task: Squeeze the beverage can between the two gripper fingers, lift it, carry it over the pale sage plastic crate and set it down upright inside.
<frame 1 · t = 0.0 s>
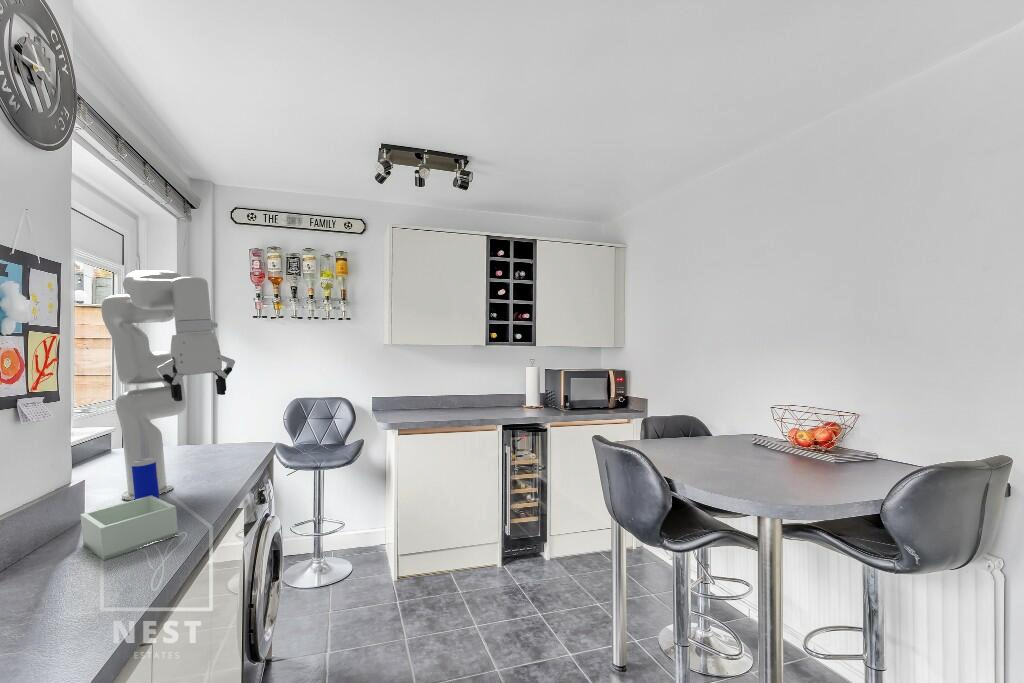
hand: (200, 397, 124), 31 cm above the table, tool pointing down, fingers open, 9 cm apart
crate: (131, 539, 118), on the table
beverage can: (149, 516, 133), on the table
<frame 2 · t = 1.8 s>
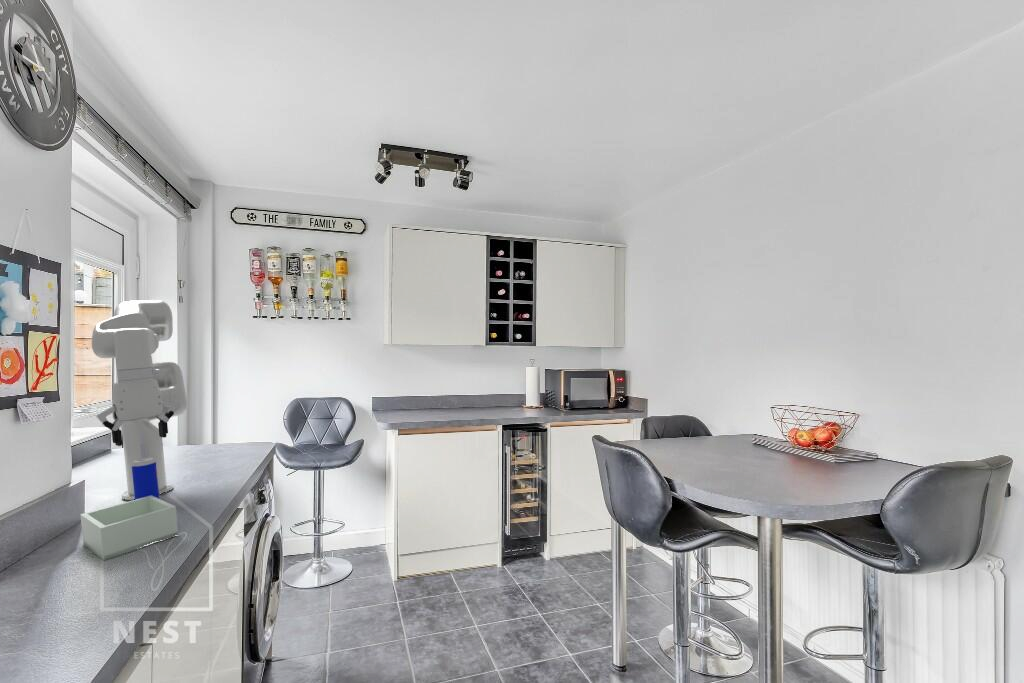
hand: (141, 441, 132), 20 cm above the table, tool pointing down, fingers open, 9 cm apart
nothing on the table moved.
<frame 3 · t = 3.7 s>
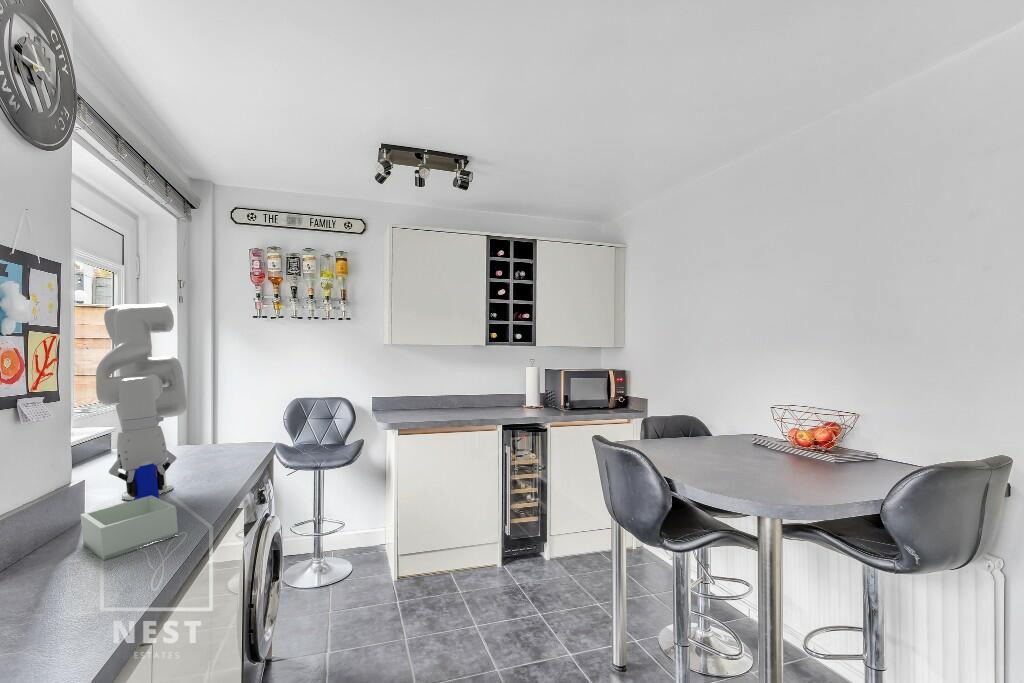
hand: (146, 491, 133), 6 cm above the table, tool pointing down, fingers closed on beverage can, 5 cm apart
beverage can: (148, 516, 133), on the table, touching gripper
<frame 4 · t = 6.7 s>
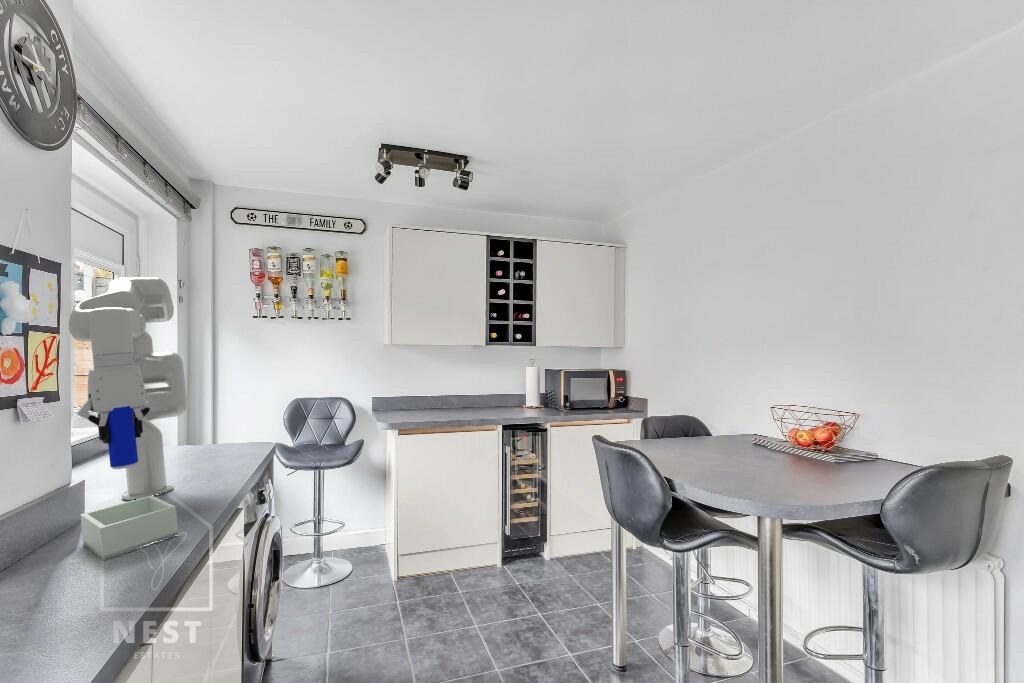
hand: (121, 439, 117), 24 cm above the table, tool pointing down, fingers closed on beverage can, 5 cm apart
beverage can: (124, 467, 117), point 17 cm above the table, touching gripper
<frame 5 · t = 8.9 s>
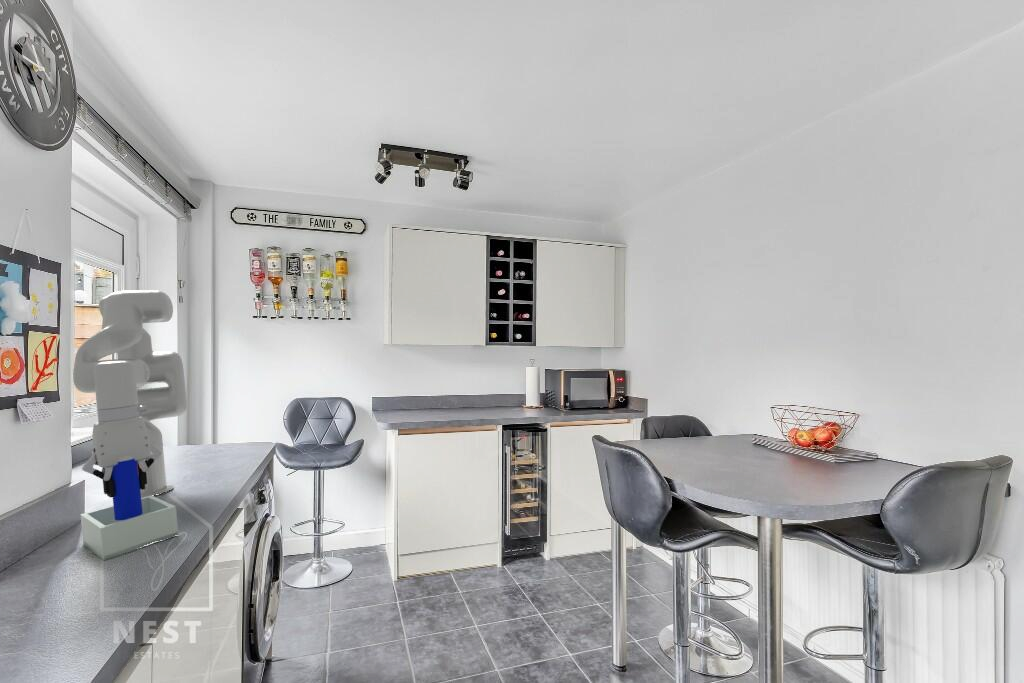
hand: (126, 491, 117), 11 cm above the table, tool pointing down, fingers closed on beverage can, 5 cm apart
beverage can: (129, 519, 117), point 5 cm above the table, touching gripper
when the fingers open (9 cm above the table, at t = 9.9 s): beverage can drops 1 cm, resting on crate.
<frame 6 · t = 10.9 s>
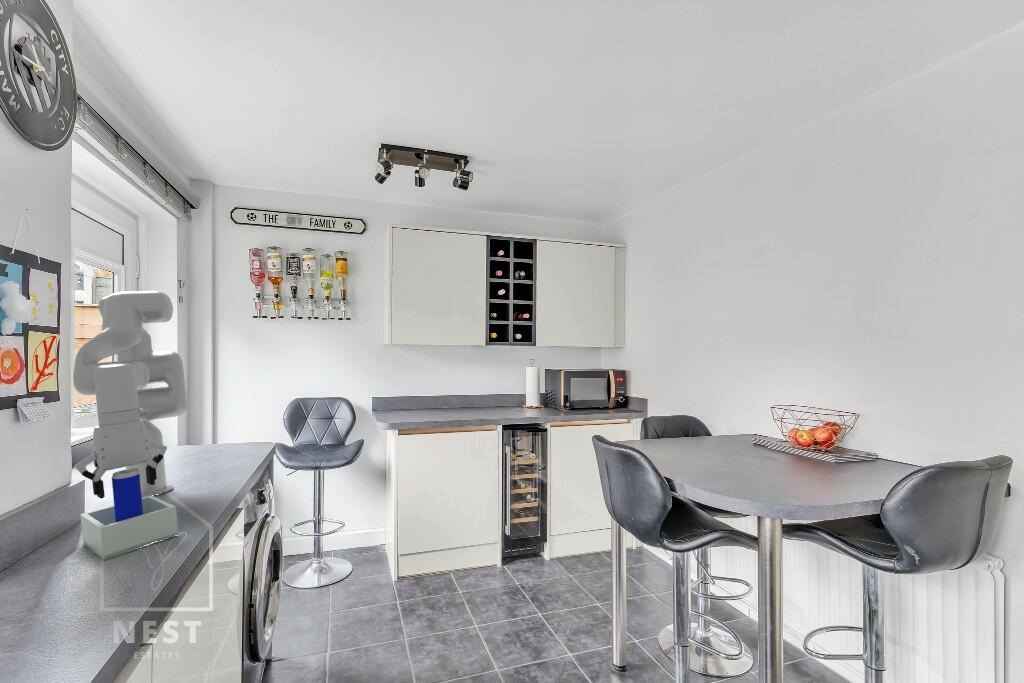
hand: (126, 490, 118), 12 cm above the table, tool pointing down, fingers open, 9 cm apart
beverage can: (131, 536, 118), point 1 cm above the table, touching crate
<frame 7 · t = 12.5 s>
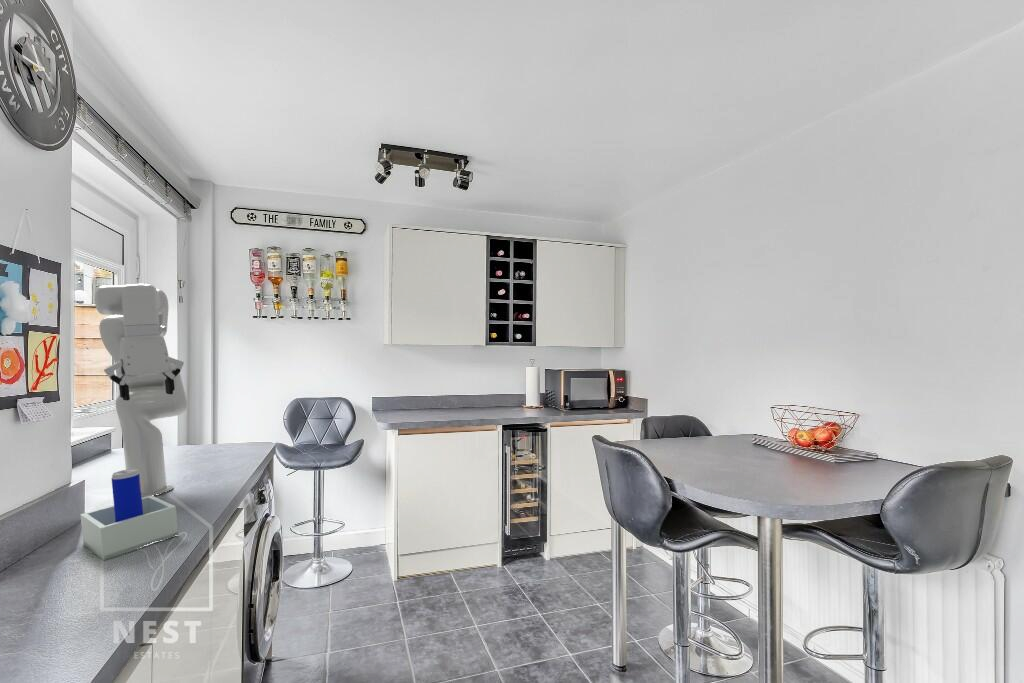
hand: (148, 396, 133), 31 cm above the table, tool pointing down, fingers open, 9 cm apart
nothing on the table moved.
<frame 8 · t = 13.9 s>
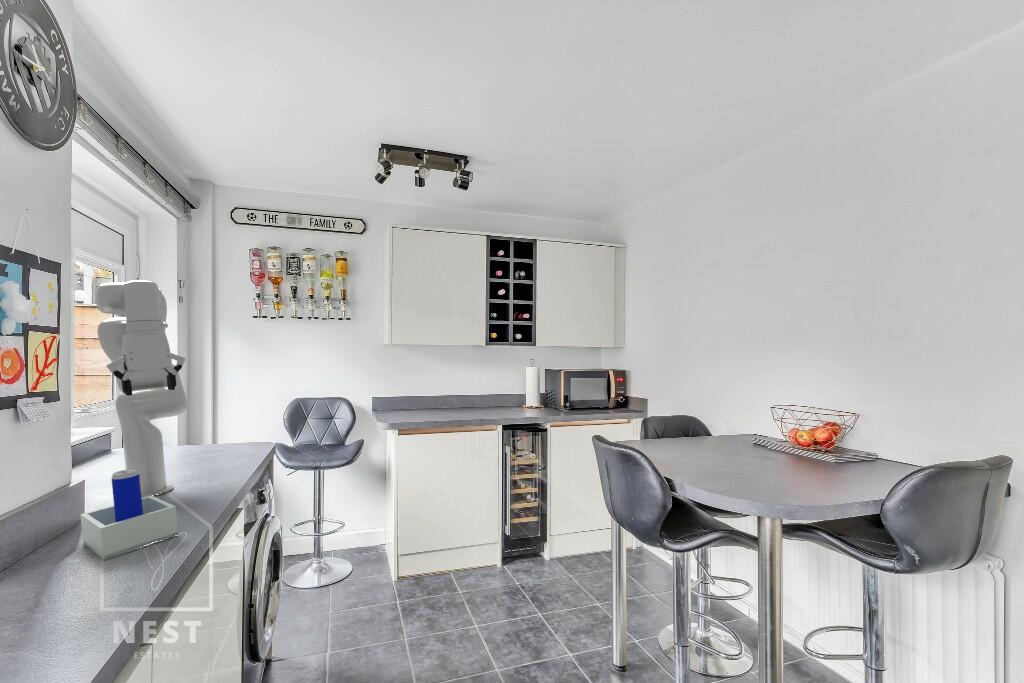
hand: (150, 392, 134), 32 cm above the table, tool pointing down, fingers open, 9 cm apart
nothing on the table moved.
at the end: beverage can inside the target area on the crate (0.2 cm from its centre), point 0.8 cm above the crate's base; beverage can tilted 0°; the gripper is holding nothing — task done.
